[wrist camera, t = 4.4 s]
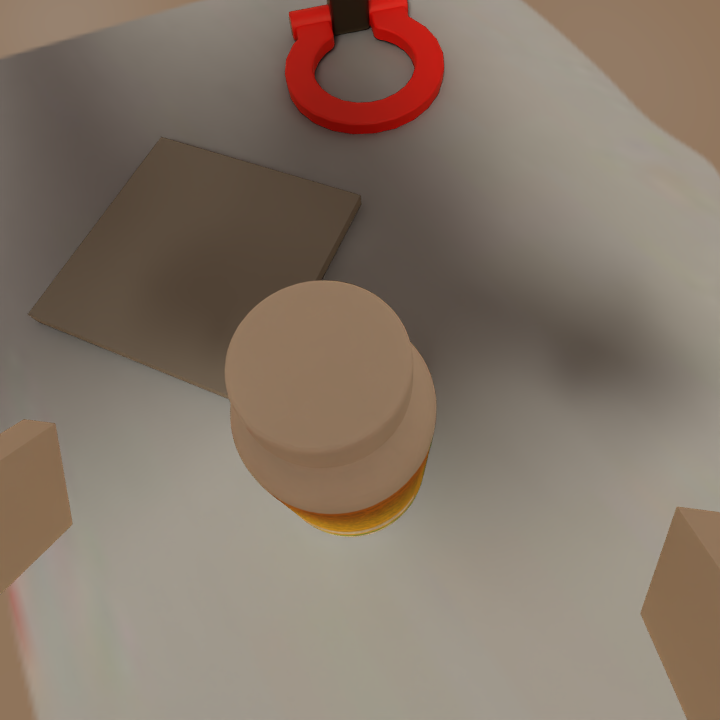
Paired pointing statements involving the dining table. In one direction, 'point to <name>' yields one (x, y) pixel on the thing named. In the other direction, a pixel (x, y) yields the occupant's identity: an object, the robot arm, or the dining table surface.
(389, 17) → the tow hook
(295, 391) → the supplement bottle
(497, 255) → the dining table surface
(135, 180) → the coaster
